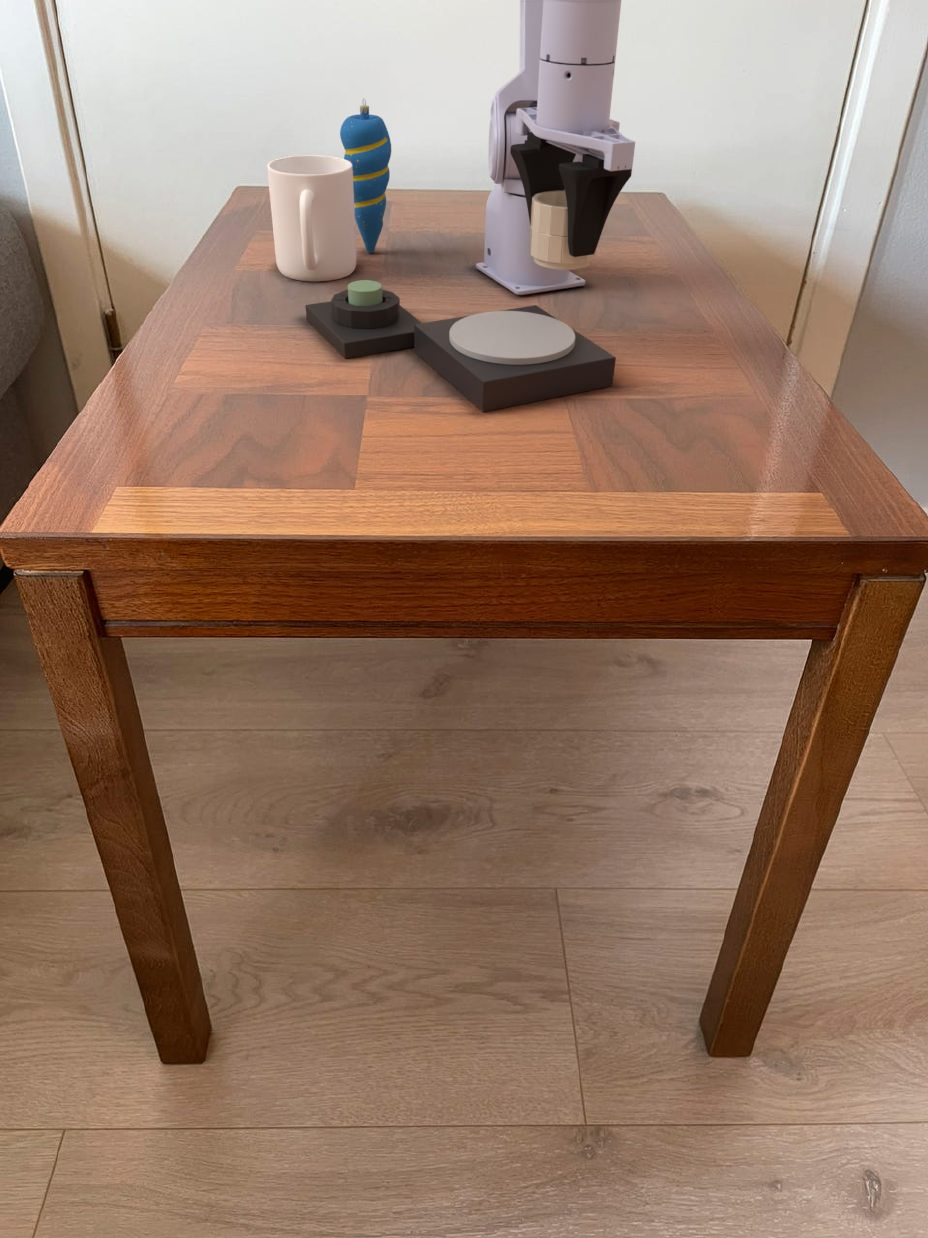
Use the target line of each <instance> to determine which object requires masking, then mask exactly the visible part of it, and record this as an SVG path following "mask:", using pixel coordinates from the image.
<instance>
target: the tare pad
mask: <svg viewBox="0 0 928 1238" xmlns="http://www.w3.org/2000/svg"><path fill="white" fill-rule="evenodd" d="M400 302H401V300H400V296H398V295H397V294H396V293H394V292H393V291H390V290H386V289H382V303H381V304H379V305H374V306H355V305H351V304H349V301H348V289H344V290H342V291H339V292H338V293H335V294H333V296H332V298H331V300H330V301H323V302H317V303H309V304H305V314H306V315H305V318H306V321H308V323H309V324H311V325H312V327H313V328H314V329H315V330H316V331H317V332H318V333H319V334H320V335H321V336H322V337H323V338H324V339H325V340H326V341H327V342H328V343H329V344H330V345H331V346H332V347H333V348H334V349H335V350H336V351H337V352H338V353H339V354H340V355H341V356H342V357H343V358H344V359H350V358H356V357H362V356H363V357H364V356H368V355H375V354H380V353H387V352H393V351H398V350H405V349H411V348H414V324H420V323H422V322H421V321H420V320H419V319H418V318H417V317H416V316H414V315H413V314H411V313H410V312H409V311H408V310H406V309H405V308H404V307H403V306H402V305H401V303H400Z"/></svg>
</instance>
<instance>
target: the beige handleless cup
mask: <svg viewBox="0 0 928 1238" xmlns="http://www.w3.org/2000/svg"><path fill="white" fill-rule="evenodd" d="M597 251H598V247H597V248H596V251H595V253H594V254H593V255H586V256H579V257H573V256H571V255H570V254H569V248H568V209H567V200H566V193H565V190H556V191H546V192H541V193H538V194H535V195H534V196H533V197H532V211H531V228H530V245H529V252H530V255H531V256H532V257H533V259H534V262H535V263H536V264H538V265H540V266H543V267H546V268H551V269H559V270H569V271H572V270H580V269H583V268H586V267H588V266H589V265H591V263H592V260H594V259H595V257H596V256H597Z"/></svg>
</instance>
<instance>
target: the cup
mask: <svg viewBox="0 0 928 1238" xmlns="http://www.w3.org/2000/svg"><path fill="white" fill-rule="evenodd" d="M266 169H267V181H268V191H269V201H270V210H271V211H270V213H271V222H272V231H273V244H274V253H275V262H276V263H275V264H276V267H277V269H278V271H279V272H280V273H281V274H282V275H283V276H284V277H286V278H288V279H292V280H295V281H301V282H302V281H303V282H328V281H329V282H330V281H335V280H340V279H342V278H345V277H348V276H350V275H351V274H352V273H354V271H355V269H356V267H357V238H356V235H357V234H356V219H355V211H354V209H355V204H354V189H353V167H352V163H351V162H350V161H348V160H345V159H344V158H342V157H338V156H332V155H323V154H322V155H321V154H320V155H319V154H301V155H291V156H290V155H289V156H284V157H280V158H275V159H273V160H271V161H269V162H268V163H267V165H266Z"/></svg>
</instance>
